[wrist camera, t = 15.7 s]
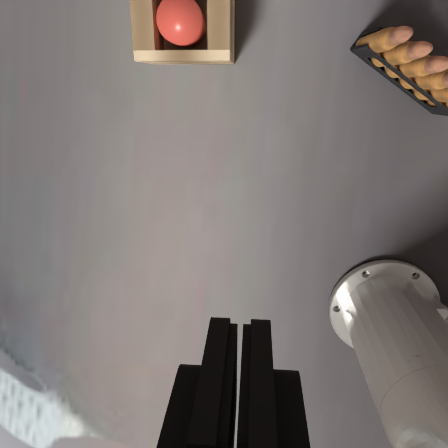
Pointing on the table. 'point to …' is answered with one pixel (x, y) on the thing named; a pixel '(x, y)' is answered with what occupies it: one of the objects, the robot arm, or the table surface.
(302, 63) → the table surface
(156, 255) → the table surface
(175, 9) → the button
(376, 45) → the ammunition clip
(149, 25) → the wooden box
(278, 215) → the table surface
